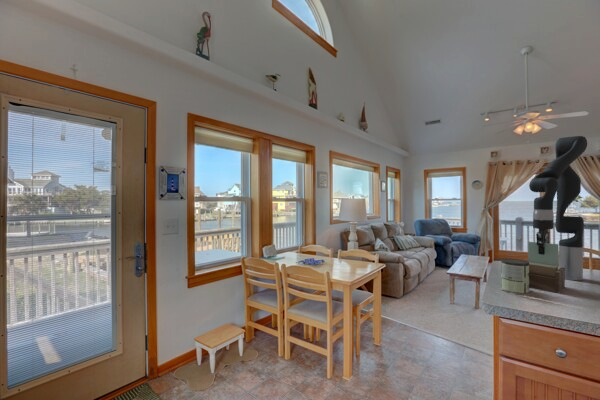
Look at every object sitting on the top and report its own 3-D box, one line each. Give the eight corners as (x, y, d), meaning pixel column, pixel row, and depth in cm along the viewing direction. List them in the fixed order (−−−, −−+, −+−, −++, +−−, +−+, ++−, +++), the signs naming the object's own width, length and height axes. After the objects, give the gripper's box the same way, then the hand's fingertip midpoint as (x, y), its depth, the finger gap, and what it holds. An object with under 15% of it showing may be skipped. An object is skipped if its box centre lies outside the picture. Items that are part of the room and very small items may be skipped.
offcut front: (525, 283, 136) (525, 262, 136) (555, 289, 127) (555, 267, 127) (524, 283, 135) (525, 263, 135) (555, 289, 126) (555, 267, 126)
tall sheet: (528, 281, 139) (528, 241, 139) (558, 286, 131) (558, 244, 131) (528, 281, 139) (528, 241, 138) (557, 287, 130) (558, 244, 130)
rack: (524, 281, 142) (524, 262, 142) (564, 289, 130) (564, 267, 130) (516, 286, 133) (516, 266, 133) (558, 295, 122) (558, 272, 121)
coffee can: (498, 286, 133) (498, 257, 133) (525, 289, 129) (525, 259, 129) (503, 293, 124) (504, 262, 124) (532, 296, 120) (533, 264, 120)
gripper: (536, 217, 142) (536, 250, 142) (529, 218, 133) (529, 254, 133) (556, 218, 136) (556, 253, 136) (550, 219, 127) (549, 256, 127)
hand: (542, 253), depth 135 cm, fingers open, 5 cm apart
